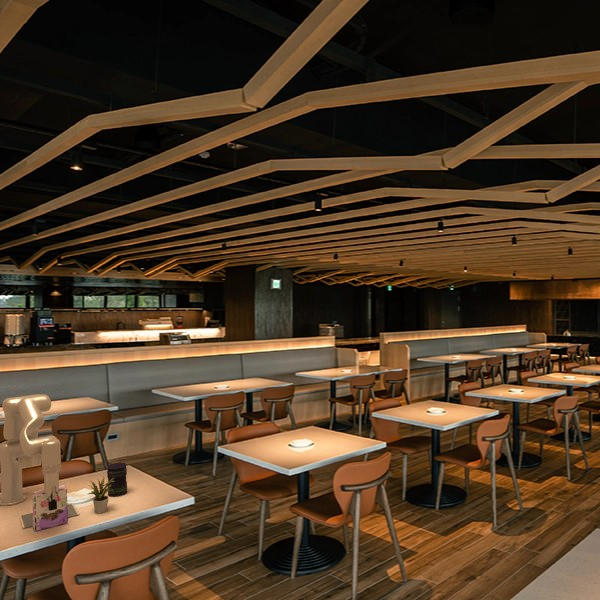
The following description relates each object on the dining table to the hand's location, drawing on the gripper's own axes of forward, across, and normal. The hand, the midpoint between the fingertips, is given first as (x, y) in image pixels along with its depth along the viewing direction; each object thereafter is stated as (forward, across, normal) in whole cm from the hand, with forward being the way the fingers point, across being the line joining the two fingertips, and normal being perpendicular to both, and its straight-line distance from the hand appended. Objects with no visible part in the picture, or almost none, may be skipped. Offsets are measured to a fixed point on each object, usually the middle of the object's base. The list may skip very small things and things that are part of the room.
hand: (52, 509), depth 223 cm
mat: (+10, -20, +1) cm, 23 cm away
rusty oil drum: (+10, -30, +35) cm, 47 cm away
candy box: (+10, -8, 0) cm, 13 cm away
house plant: (+10, -10, +23) cm, 27 cm away
